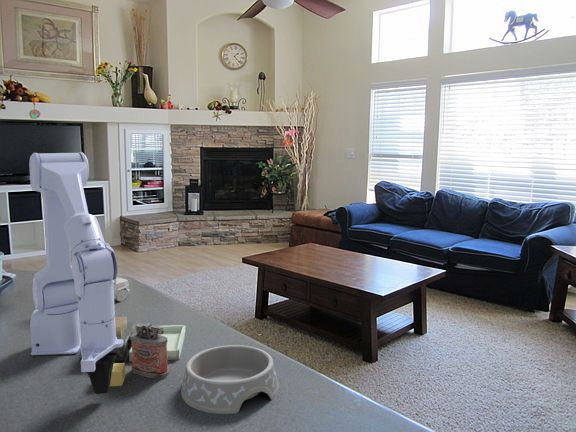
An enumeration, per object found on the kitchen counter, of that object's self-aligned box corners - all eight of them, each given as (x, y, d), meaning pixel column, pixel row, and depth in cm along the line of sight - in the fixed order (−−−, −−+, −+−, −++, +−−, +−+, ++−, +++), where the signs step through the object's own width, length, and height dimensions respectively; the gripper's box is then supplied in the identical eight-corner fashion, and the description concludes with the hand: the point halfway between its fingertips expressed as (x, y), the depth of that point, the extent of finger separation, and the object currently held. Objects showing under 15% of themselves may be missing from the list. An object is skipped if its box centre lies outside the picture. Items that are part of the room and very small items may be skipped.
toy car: (135, 298, 144) (133, 264, 142) (73, 320, 127) (71, 282, 126) (111, 292, 149) (110, 260, 148) (49, 312, 132) (46, 275, 131)
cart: (87, 365, 102) (85, 333, 101) (101, 343, 113) (99, 314, 112) (125, 363, 103) (123, 332, 102) (135, 341, 114) (134, 313, 113)
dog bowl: (165, 385, 95) (164, 358, 94) (247, 359, 106) (246, 335, 105) (209, 426, 81) (208, 395, 81) (297, 391, 92) (297, 364, 92)
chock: (97, 388, 93) (96, 372, 93) (101, 378, 97) (101, 364, 96) (122, 386, 94) (121, 371, 93) (125, 377, 97) (124, 362, 97)
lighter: (128, 372, 99) (125, 324, 97) (139, 365, 102) (137, 318, 100) (162, 380, 96) (160, 330, 94) (172, 372, 99) (170, 324, 97)
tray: (129, 361, 104) (128, 352, 103) (141, 334, 118) (141, 326, 117) (179, 359, 105) (179, 350, 104) (185, 332, 119) (185, 324, 118)
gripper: (111, 333, 80) (115, 412, 82) (130, 303, 94) (133, 371, 96) (65, 335, 79) (70, 415, 81) (91, 304, 93) (95, 373, 95)
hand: (102, 391), depth 88 cm, fingers closed
